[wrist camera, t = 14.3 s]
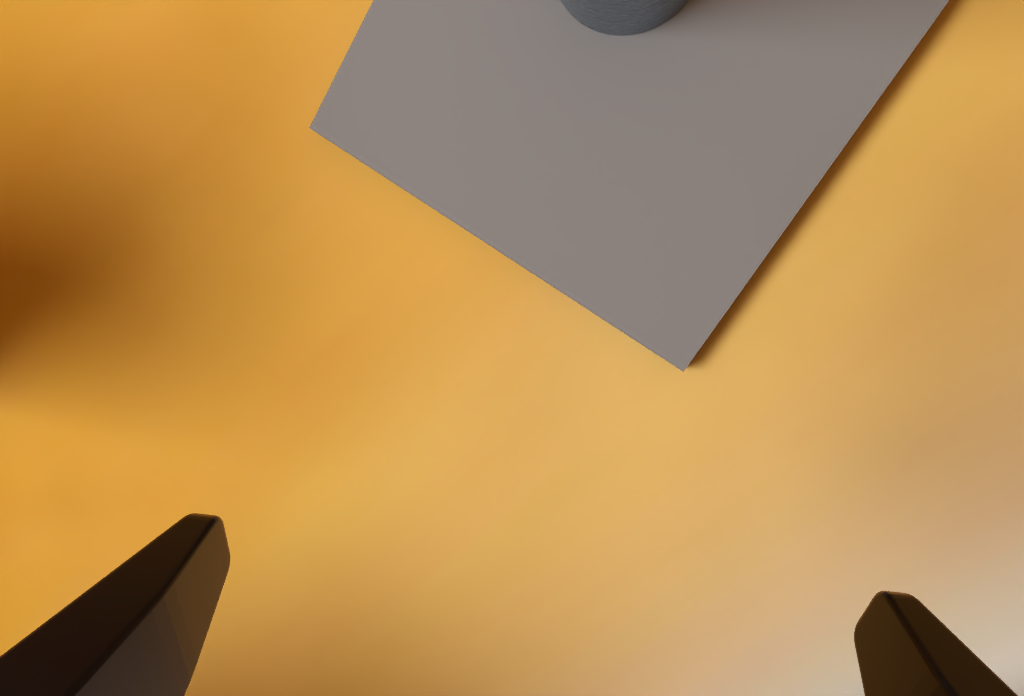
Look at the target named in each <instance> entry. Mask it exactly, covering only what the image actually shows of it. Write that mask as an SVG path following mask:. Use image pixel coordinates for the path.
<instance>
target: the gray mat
mask: <svg viewBox="0 0 1024 696" xmlns="http://www.w3.org/2000/svg"><path fill="white" fill-rule="evenodd" d="M948 1H949V0H689V1H688V2H687V4H686V5H685V6H684V7H683V8H682V9H681V10H680V11H679V12H678V13H677V14H676V15H675V16H673V17H672V18H671V19H669V20H668V21H667V22H665V23H663V24H662V25H660V26H658V27H656V28H654V29H652V30H649V31H646V32H643V33H640V34H635V35H629V36H615V35H607V34H603V33H599V32H597V31H594V30H592V29H589V28H588V27H586V26H584V25H583V24H581V23H580V22H579V21H577V20H576V19H575V18H574V17H573V16H572V15H571V14H570V13H569V12H568V11H567V10H566V8H565V7H564V5H563V4H562V3H561V1H560V0H373V2H372V4H371V6H370V8H369V10H368V12H367V14H366V16H365V18H364V20H363V22H362V24H361V26H360V28H359V30H358V32H357V34H356V36H355V38H354V40H353V42H352V44H351V46H350V48H349V50H348V52H347V54H346V56H345V58H344V60H343V62H342V64H341V66H340V68H339V70H338V72H337V74H336V76H335V78H334V80H333V82H332V84H331V86H330V88H329V90H328V92H327V94H326V96H325V98H324V100H323V102H322V104H321V106H320V108H319V110H318V112H317V114H316V116H315V118H314V120H313V122H312V124H311V126H310V129H312V130H313V131H315V132H316V133H318V134H320V135H321V136H323V137H324V138H326V139H327V140H329V141H330V142H332V143H333V144H335V145H336V146H338V147H339V148H341V149H343V150H344V151H346V152H347V153H349V154H350V155H352V156H353V157H355V158H356V159H358V160H359V161H361V162H362V163H364V164H366V165H367V166H369V167H370V168H372V169H373V170H375V171H376V172H378V173H379V174H381V175H382V176H384V177H386V178H387V179H389V180H390V181H392V182H393V183H395V184H396V185H398V186H399V187H401V188H402V189H404V190H405V191H407V192H409V193H410V194H412V195H413V196H415V197H416V198H418V199H419V200H421V201H422V202H424V203H425V204H427V205H428V206H430V207H432V208H433V209H435V210H436V211H438V212H439V213H441V214H442V215H444V216H445V217H447V218H448V219H450V220H451V221H453V222H455V223H456V224H458V225H459V226H461V227H462V228H464V229H465V230H467V231H468V232H470V233H471V234H473V235H474V236H476V237H478V238H479V239H481V240H482V241H484V242H485V243H487V244H488V245H490V246H491V247H493V248H494V249H496V250H498V251H499V252H501V253H502V254H504V255H505V256H507V257H508V258H510V259H511V260H513V261H514V262H516V263H517V264H519V265H521V266H522V267H524V268H525V269H527V270H528V271H530V272H531V273H533V274H534V275H536V276H537V277H539V278H540V279H542V280H544V281H545V282H547V283H548V284H550V285H551V286H553V287H554V288H556V289H557V290H559V291H560V292H562V293H563V294H565V295H567V296H568V297H570V298H571V299H573V300H574V301H576V302H577V303H579V304H580V305H582V306H583V307H585V308H587V309H588V310H590V311H591V312H593V313H594V314H596V315H597V316H599V317H600V318H602V319H603V320H605V321H606V322H608V323H610V324H611V325H613V326H614V327H616V328H617V329H619V330H620V331H622V332H623V333H625V334H626V335H628V336H629V337H631V338H633V339H634V340H636V341H637V342H639V343H640V344H642V345H643V346H645V347H646V348H648V349H649V350H651V351H652V352H654V353H656V354H657V355H659V356H660V357H662V358H663V359H665V360H666V361H668V362H669V363H671V364H672V365H674V366H676V367H677V368H679V369H680V370H682V371H683V372H684V370H685V369H686V367H687V366H688V365H689V363H690V362H691V360H692V359H693V358H694V356H695V355H696V353H697V352H698V351H699V349H700V348H701V346H702V345H703V344H704V342H705V341H706V339H707V338H708V337H709V335H710V334H711V332H712V331H713V330H714V328H715V327H716V325H717V324H718V323H719V321H720V320H721V319H722V317H723V316H724V314H725V313H726V312H727V310H728V309H729V307H730V306H731V305H732V303H733V302H734V300H735V299H736V298H737V296H738V295H739V293H740V292H741V291H742V289H743V288H744V286H745V285H746V284H747V282H748V281H749V279H750V278H751V277H752V275H753V274H754V272H755V271H756V270H757V268H758V267H759V265H760V264H761V263H762V261H763V260H764V258H765V257H766V256H767V254H768V253H769V251H770V250H771V249H772V247H773V246H774V244H775V243H776V242H777V240H778V239H779V237H780V236H781V235H782V233H783V232H784V230H785V229H786V228H787V226H788V225H789V223H790V222H791V221H792V219H793V218H794V217H795V215H796V214H797V212H798V211H799V210H800V208H801V207H802V205H803V204H804V203H805V201H806V200H807V198H808V197H809V196H810V194H811V193H812V191H813V190H814V189H815V187H816V186H817V184H818V183H819V182H820V180H821V179H822V177H823V176H824V175H825V173H826V172H827V170H828V169H829V168H830V166H831V165H832V163H833V162H834V161H835V159H836V158H837V156H838V155H839V154H840V152H841V151H842V149H843V148H844V147H845V145H846V144H847V142H848V141H849V140H850V138H851V137H852V135H853V134H854V133H855V131H856V130H857V128H858V127H859V126H860V124H861V123H862V121H863V120H864V119H865V117H866V116H867V115H868V113H869V112H870V110H871V109H872V108H873V106H874V105H875V103H876V102H877V101H878V99H879V98H880V96H881V95H882V94H883V92H884V91H885V89H886V88H887V87H888V85H889V84H890V82H891V81H892V80H893V78H894V77H895V75H896V74H897V73H898V71H899V70H900V68H901V67H902V66H903V64H904V63H905V61H906V60H907V59H908V57H909V56H910V54H911V53H912V52H913V50H914V49H915V47H916V46H917V45H918V43H919V42H920V40H921V39H922V38H923V36H924V35H925V33H926V32H927V31H928V29H929V28H930V26H931V25H932V24H933V22H934V21H935V19H936V18H937V17H938V15H939V14H940V13H941V11H942V10H943V8H944V7H945V6H946V4H947V3H948Z"/></svg>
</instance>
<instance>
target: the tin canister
mask: <svg viewBox="0 0 1024 696" xmlns="http://www.w3.org/2000/svg"><path fill="white" fill-rule="evenodd" d="M560 1H561V3H562V4H563V5H564V7H565V8H566V10H567V11H568V12H569V13H570V14H571V15H572V16H573V17H574V18H575V19H576V20H577V21H579V22H580V23H581V24H583V25H584V26H586V27H588V28H589V29H592V30H594V31H597V32H599V33H603V34H607V35H615V36H629V35H635V34H640V33H643V32H646V31H649V30H652V29H654V28H656V27H658V26H660V25H662V24H663V23H665V22H667V21H668V20H669V19H671V18H672V17H673V16H675V15H676V14H677V13H678V12H679V11H680V10H681V9H682V8H683V7H684V6H685V5H686V4H687V2H688V1H689V0H560Z"/></svg>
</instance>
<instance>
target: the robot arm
mask: <svg viewBox="0 0 1024 696" xmlns="http://www.w3.org/2000/svg"><path fill="white" fill-rule="evenodd" d="M229 565H230V552H229V547H228V542H227V538H226V533H225V528H224V524H223V521H222V519H221V518H220V517H218V516H215V515H206V514H197V513H194V514H189V515H187V516H185V517H183V518H182V519H181V520H179V521H178V522H177V523H175V524H174V525H173V526H171V527H170V528H169V529H168V530H166V531H165V532H164V533H162V534H161V535H160V536H158V537H157V538H156V539H154V540H153V541H152V542H150V543H149V544H148V545H146V546H145V547H144V548H142V549H141V550H140V551H139V552H137V553H136V554H135V555H133V556H132V557H131V558H129V559H128V560H127V561H125V562H124V563H123V564H121V565H120V566H119V567H117V568H116V569H115V570H114V571H112V572H111V573H110V574H108V575H107V576H106V577H104V578H103V579H102V580H100V581H99V582H98V583H96V584H95V585H94V586H92V587H91V588H90V589H89V590H87V591H86V592H85V593H83V594H82V595H81V596H79V597H78V598H77V599H75V600H74V601H73V602H71V603H70V604H69V605H67V606H66V607H65V608H63V609H62V610H61V611H60V612H58V613H57V614H56V615H54V616H53V617H52V618H50V619H49V620H48V621H46V622H45V623H44V624H42V625H41V626H40V627H38V628H37V629H36V630H35V631H33V632H32V633H31V634H29V635H28V636H27V637H25V638H24V639H23V640H21V641H20V642H19V643H17V644H16V645H15V646H13V647H12V648H11V649H10V650H8V651H7V652H6V653H4V654H3V655H2V656H0V696H184V695H185V692H186V690H187V688H188V685H189V683H190V681H191V678H192V675H193V672H194V670H195V667H196V664H197V661H198V659H199V656H200V653H201V650H202V647H203V644H204V641H205V638H206V635H207V632H208V629H209V626H210V623H211V620H212V617H213V615H214V612H215V609H216V606H217V603H218V600H219V597H220V594H221V591H222V588H223V585H224V582H225V579H226V576H227V573H228V570H229ZM854 642H855V648H856V653H857V658H858V663H859V668H860V673H861V678H862V683H863V688H864V693H865V696H1018V695H1017V694H1016V693H1014V692H1013V691H1012V690H1011V689H1010V688H1009V687H1008V686H1007V685H1006V684H1005V683H1004V682H1003V681H1002V680H1001V679H1000V678H999V677H998V676H997V675H996V674H995V673H994V672H993V671H992V670H991V669H990V668H989V667H988V666H986V665H985V664H984V663H983V662H982V661H981V660H980V659H979V658H978V657H977V656H976V655H975V654H974V653H973V652H972V651H971V650H970V649H969V648H968V647H967V646H966V645H965V644H964V643H963V642H962V641H961V640H959V639H958V638H957V637H956V636H955V635H954V634H953V633H952V632H951V631H950V630H949V629H948V628H947V627H946V626H945V625H944V624H943V623H942V622H941V621H940V620H939V619H938V618H937V617H936V616H935V615H934V614H932V613H931V612H930V611H929V610H928V609H927V608H926V607H925V606H924V605H923V604H922V603H921V602H920V601H919V600H918V599H917V598H915V597H914V596H912V595H910V594H906V593H899V592H890V591H881V592H879V593H877V594H876V595H875V596H874V598H873V599H872V601H871V602H870V604H869V605H868V607H867V608H866V610H865V612H864V613H863V615H862V616H861V618H860V619H859V621H858V623H857V625H856V628H855V632H854Z"/></svg>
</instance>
